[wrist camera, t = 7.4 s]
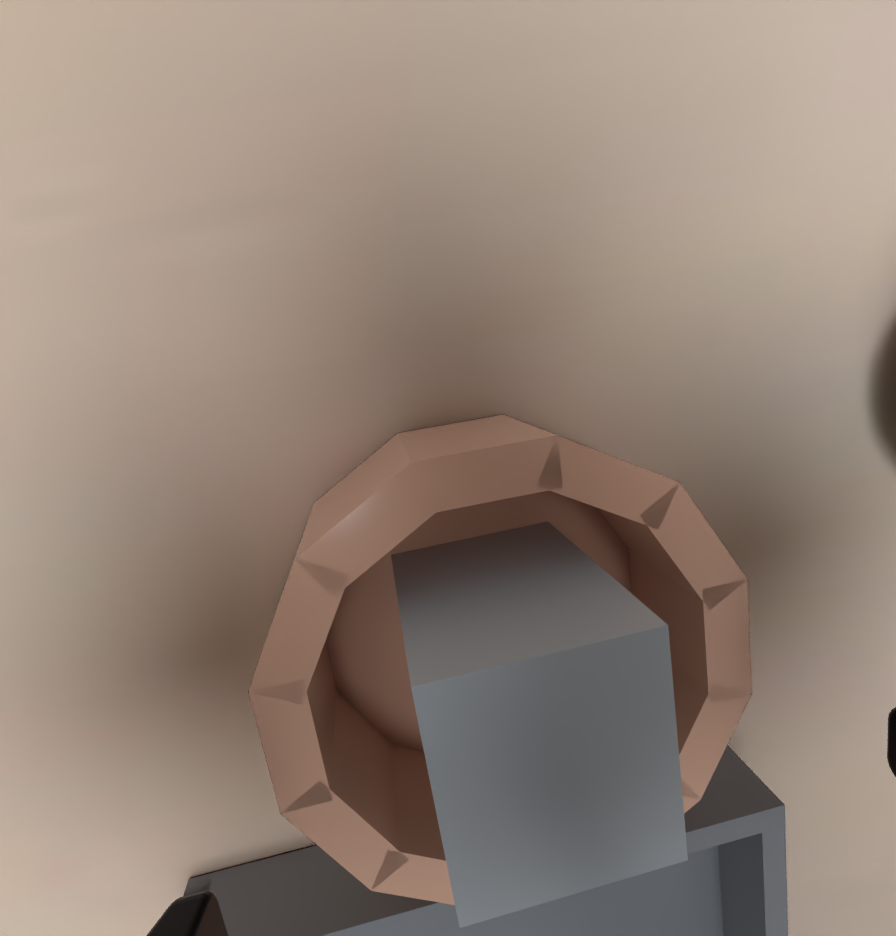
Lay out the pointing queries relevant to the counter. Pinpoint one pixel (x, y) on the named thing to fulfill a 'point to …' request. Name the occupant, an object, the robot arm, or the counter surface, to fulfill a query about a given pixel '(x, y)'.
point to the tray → (559, 921)
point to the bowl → (382, 644)
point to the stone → (539, 719)
